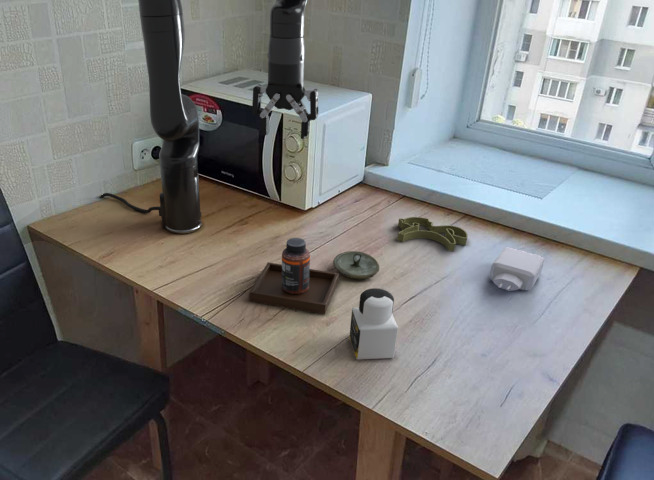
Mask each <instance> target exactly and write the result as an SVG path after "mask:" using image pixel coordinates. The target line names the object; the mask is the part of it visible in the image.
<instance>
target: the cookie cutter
mask: <svg viewBox="0 0 654 480" xmlns="http://www.w3.org/2000/svg"><path fill="white" fill-rule="evenodd" d="M397 226H398V227H399V228H400V231H399V232H398V233H397V241H398V242H402V243H404V242H406V241H409V240H412V239H428V240H432V241H435V242H438V243H440V244H442V245H443V246H444V247H445V248H446V249H447V251H448V252H455V248H456V245H461V246H467V242H468V233H467V231H466V230H465V229H464V228H462V227H459V226H456V225H449V224H447V225H446V224H444V225H434V222H433V221H431V220H430V218H426V217H420V216H409V217H405V218H398V224H397ZM420 226H425V227H426V228H427V229H428V230H420ZM442 234H444V235H442Z"/></svg>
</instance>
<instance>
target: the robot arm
mask: <svg viewBox="0 0 654 480" xmlns="http://www.w3.org/2000/svg"><path fill="white" fill-rule="evenodd" d="M137 2H138V12H139V20H140V21H139V22H140V27H141V34H142V41H143V47H144V55H145V63H146V70H147V76H148V90H149V91H148V93H149V117H150V124H151V127H152V130H153V131H154V132H155V134H156V135H157V136H158V138H160V139H161V140H162V145H161V148H160V151H159V154H158V159H159V169H160V170H159V171H160V180H161V192H160V193H159V195H158V196H159V204H160V205H159V206H150V207H148V209H145V208H141V207H137V206H135V205H133V204H131V203H130V202H128V201H127V200H126V199H125V198H123V197H121V196H118V195H116V194H113V193H111V192H104V193H102V194H103V195H102V194H101V195H100V196H99V198H100V199H103V198H105V197H109V198H113V199H115V200H117V201H120V202H122V203H123V204H124V205H125V206H126V207H128V208H129V209H132V210H134V211H137V212H139V213H144V214H150V213H152V211H158V216H159V217H161V226H162V229H163V230H166V231H168V233H169V232H170V233H173V234H176V235H177V234H178V235H179V234H180V235H184V234H185V235H186V234H192V233H194V232H197V231H199V230H200V229H201V227H202V226H203V225H202V224H203V223H202V218H203V216H202V211H201V197H200V196H201V195H200V181H199V165H198V155H199V151H200V118H199V117H200V116H199V113H198V112H199V111H198V107H197V106H196V103H195V102H194V101H193V100H192V99H191V97H189V96H188V95H186V94H183V93H182V89H181V69H182V62H183V58H184V57H183V55H184V49H185V38H186V33H185V21H184V20H185V19H184V12H183V5H182V0H137ZM307 2H308V0H275V2H274V3H273V4H272V6H271V7H270V11H269V21H268V22H269V27H268V28H269V30H268V33H269V37H268V45H267V86H264V85H262V84H259V83H258V84H256V85H255V86H254V87H253V89H252V104H251V105H252V107H251V114H252V115H254V116H258V117H259V118H260V132H261V133H263V136H268V135H269V134H270V116H269V114H270V113H271V111H272V110H273V109H274V108H276V110H284V109H285V110H287V111H292V110H294V112H295V113H296V115H297V116H299V118H300V120H301V122H300V139H301V140H305V139H306V138H307V137H308V136H309V134H310V124H311V123H310V122H311V121H315V120H317V118H318V117H319V115H320V114H319V90H318V88H314V89H306V88H305V86H304V84H305V83H304V81H305V56H306V55H305V53H306V52H305V51H306V48H305V47H306V45H305V12H306V6H307ZM265 94H266V95H267V97H268V98H269V102H268V103H267V104H266V106H264V108H261V107H262V97H263V96H264V95H265ZM304 97H306V99H307V101H308V102H310V103H309V107H310V109H309V110H310V111H308V110H307V108H306V105H305V104H304V102H303V101H302V100H303V99H304ZM309 112H310V113H309Z"/></svg>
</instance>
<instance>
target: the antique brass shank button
mask: <svg viewBox="0 0 654 480" xmlns="http://www.w3.org/2000/svg"><path fill="white" fill-rule="evenodd" d="M332 262H333V263H332V264H333V268H334V269H335V270H336V271H337V273H339V274H341V275H342V276H345V277H347V278H350V279H354V280H366V279H369V278H372V277H374V276H375V275H377V274H378V272H379V271H380V265H379V263H378V261H377V259H375V257H373V256H372V255H370V254H368V253H366V252H363V251H357V250H354V251H353V250H352V251H344V252H340V253H338V254H337V255H336V256H335V257H334V258H333V261H332Z"/></svg>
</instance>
